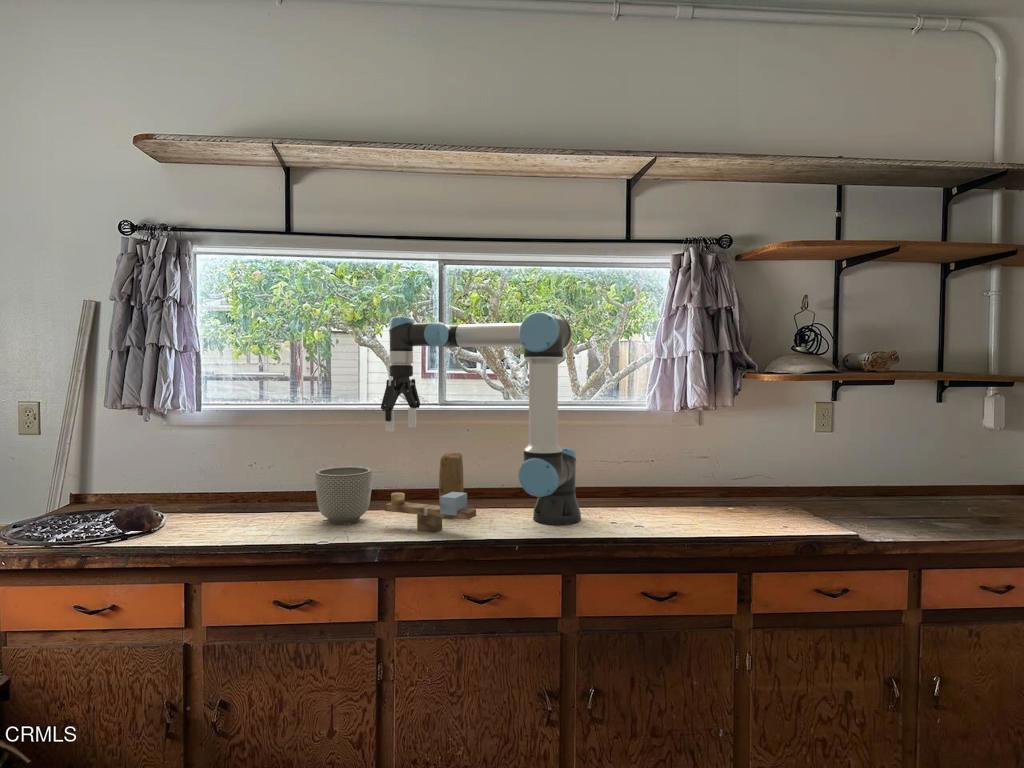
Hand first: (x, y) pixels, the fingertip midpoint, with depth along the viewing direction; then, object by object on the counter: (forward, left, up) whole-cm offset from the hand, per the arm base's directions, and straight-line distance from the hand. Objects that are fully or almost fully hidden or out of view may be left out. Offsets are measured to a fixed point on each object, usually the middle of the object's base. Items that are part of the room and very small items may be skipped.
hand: (401, 429), depth 206 cm
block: (-15, -6, -28) cm, 33 cm away
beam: (-18, +14, -28) cm, 36 cm away
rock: (+59, +50, -28) cm, 82 cm away
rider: (-26, +14, -22) cm, 37 cm away
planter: (+12, +15, -28) cm, 34 cm away
